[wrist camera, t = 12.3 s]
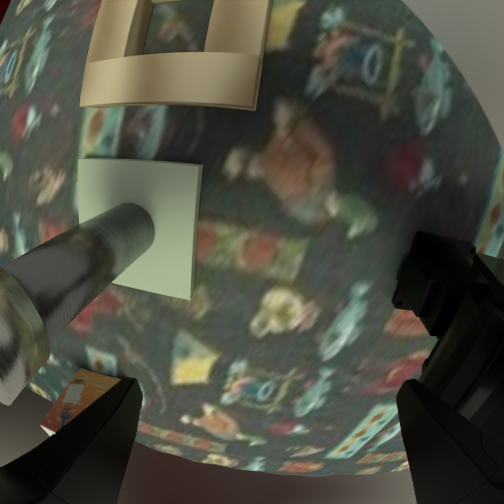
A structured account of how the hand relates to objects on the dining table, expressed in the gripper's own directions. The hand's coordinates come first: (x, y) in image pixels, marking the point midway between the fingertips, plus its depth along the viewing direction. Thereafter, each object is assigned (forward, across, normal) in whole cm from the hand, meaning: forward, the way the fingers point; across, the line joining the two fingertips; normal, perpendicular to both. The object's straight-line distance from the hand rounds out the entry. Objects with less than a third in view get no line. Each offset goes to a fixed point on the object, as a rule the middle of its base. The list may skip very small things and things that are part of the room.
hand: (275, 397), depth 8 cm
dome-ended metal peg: (+13, +10, -1) cm, 16 cm away
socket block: (+14, +6, -16) cm, 22 cm away
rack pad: (+14, +10, -1) cm, 17 cm away
